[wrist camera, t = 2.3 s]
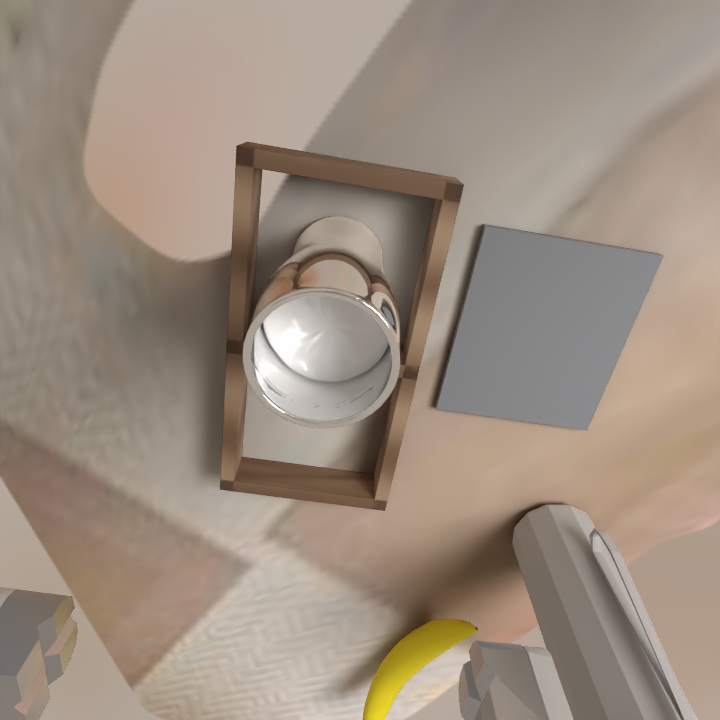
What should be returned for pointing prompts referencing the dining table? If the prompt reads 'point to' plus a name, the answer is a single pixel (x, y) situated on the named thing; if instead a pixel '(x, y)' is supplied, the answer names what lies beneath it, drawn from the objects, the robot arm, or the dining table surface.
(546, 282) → the charcoal mat
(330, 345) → the beer glass
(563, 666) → the water bottle
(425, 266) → the frame
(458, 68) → the dining table surface
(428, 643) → the banana
